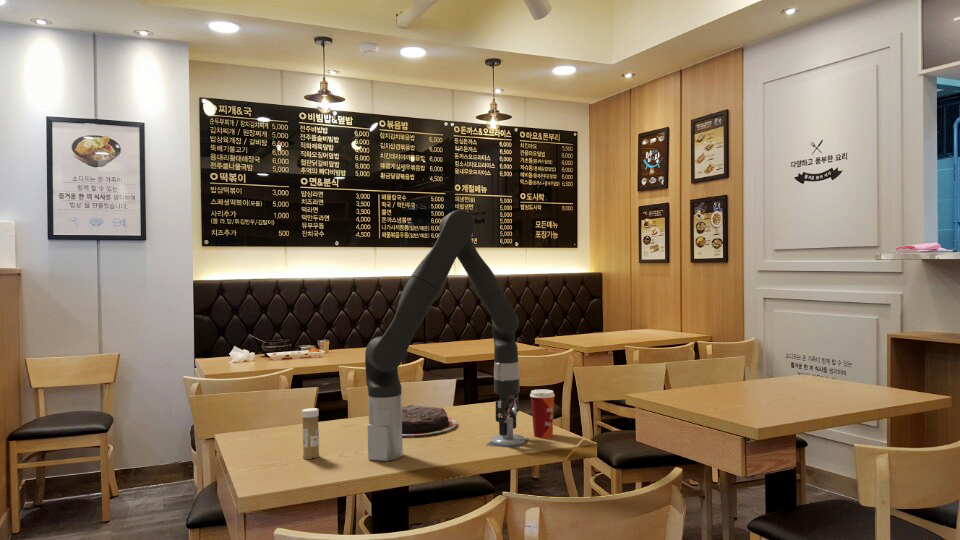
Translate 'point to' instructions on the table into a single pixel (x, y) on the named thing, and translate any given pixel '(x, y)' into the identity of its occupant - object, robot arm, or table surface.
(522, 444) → the mat
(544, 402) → the paper cup
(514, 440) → the lid
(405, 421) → the chocolate cake
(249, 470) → the table surface
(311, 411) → the sprinkles bottle
